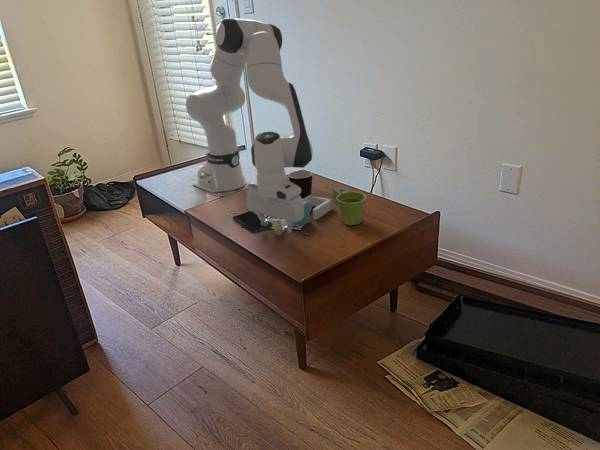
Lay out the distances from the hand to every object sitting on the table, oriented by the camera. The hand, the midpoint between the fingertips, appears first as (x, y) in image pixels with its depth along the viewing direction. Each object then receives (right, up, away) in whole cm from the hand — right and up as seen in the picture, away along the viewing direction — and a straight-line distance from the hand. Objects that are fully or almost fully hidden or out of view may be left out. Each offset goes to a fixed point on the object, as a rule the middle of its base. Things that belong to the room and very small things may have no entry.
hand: (276, 228), depth 152 cm
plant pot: (+24, +2, +6) cm, 25 cm away
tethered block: (+4, 0, +5) cm, 7 cm away
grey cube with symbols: (+23, +9, +20) cm, 32 cm away
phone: (-8, +1, +11) cm, 14 cm away
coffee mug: (+8, +11, +27) cm, 30 cm away
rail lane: (+12, +6, +15) cm, 20 cm away
